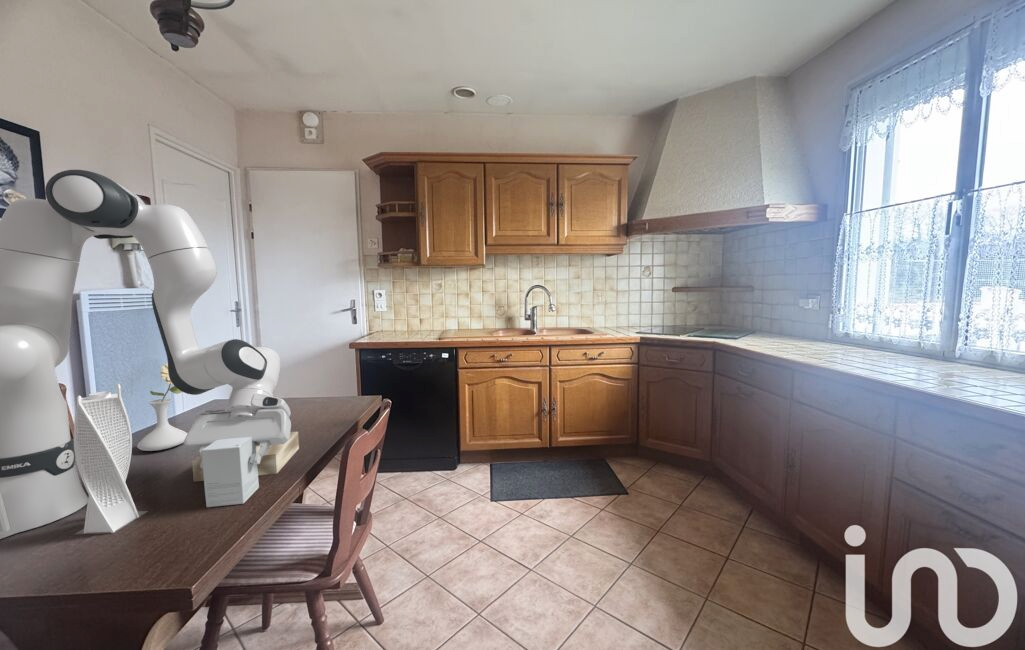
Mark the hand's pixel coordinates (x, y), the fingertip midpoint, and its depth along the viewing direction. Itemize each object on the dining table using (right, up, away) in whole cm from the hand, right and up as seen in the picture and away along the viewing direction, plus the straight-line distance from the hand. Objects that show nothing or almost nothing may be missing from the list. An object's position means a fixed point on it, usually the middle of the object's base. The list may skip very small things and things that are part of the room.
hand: (230, 465), depth 82 cm
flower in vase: (-41, -6, +30) cm, 51 cm away
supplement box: (0, -8, +1) cm, 8 cm away
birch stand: (-8, -6, +18) cm, 20 cm away
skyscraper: (-16, -9, -8) cm, 20 cm away
